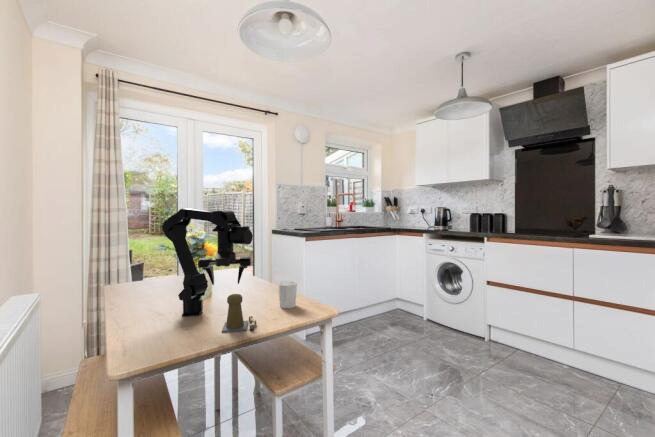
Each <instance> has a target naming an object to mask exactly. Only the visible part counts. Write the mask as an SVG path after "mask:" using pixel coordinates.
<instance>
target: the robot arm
mask: <svg viewBox="0 0 655 437" xmlns="http://www.w3.org/2000/svg"><path fill="white" fill-rule="evenodd" d="M191 220H197V221H198V220H199V221H202V222H203V221H205V222H209V223H211V224H213V225H215V227H214V228H213V229H212V230H211V232H213V233H214V232H215V233H216V232H217V253H216V256H215V259H213V257H202V258H200V259H199V260H198V263H197V266H196V263H195V259H194V258H193V256H192V252H191V248H190V246H189V244H188V242H187V233H188V229H187V227H188V226H189V225H190V223H191ZM161 229H162V231H163V233H164V235H165V237H166V238H167V239H168V240H169V241H171V243H172V245H173V247H174V250H175V253H176V255H177V258H178V261H179V264H180V266H181V270H182V273H183V276H184V277H183V281H182V285H183V289H182V290H181V292H180V293H178V295H177V296H178V299H179V301H182V314H181V316H182V317H185V316H186V317H187V316H188V317H189V316H199V315H201V313H202V312H203V311H204V300H203V299H202V297H204V296H205V295H206V291H207V290H208V289H207V288H208V287H209V286H208V285H209V284H208V283H209V281H208V279H207V277H206V276H207V275H208V277H209V280H210V282H211V285H212V286H214V285H215V275H214V273H215V272H214V265H215V267H219V268H220V267H230V266H231V265H239V266H238V275H237V285H239V284H240V281H241V279H242V276H243V272H244V270H245V269H247V268H248V267H250V266H252V257H251V256H241V257H240V258H237V253H236V251H234V245H247V246H248V245H251V244H252V242H253V239H254V238H253V236H254V235H253V232H252V230H251V229H250V226H248V225H244V226H242V224H241V223H240V222H239V220H238V218H237V217H236V213H235V212H234V211H233V210H216V211H215V210H214V211H210V210H202V209H196V208H195V209H194V208H189V207H188V208H187V207H183V208H180V209H179V210H178V211H177V212H176V213H174V214H172V215H171V216H169V217H168V218H167V219H166V220H164V221H163V223H162V225H161ZM198 268H202V271H203V270H204V271H205V272H206V273H207V275H206V274H205V273H204V272H200V271H198Z"/></svg>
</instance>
